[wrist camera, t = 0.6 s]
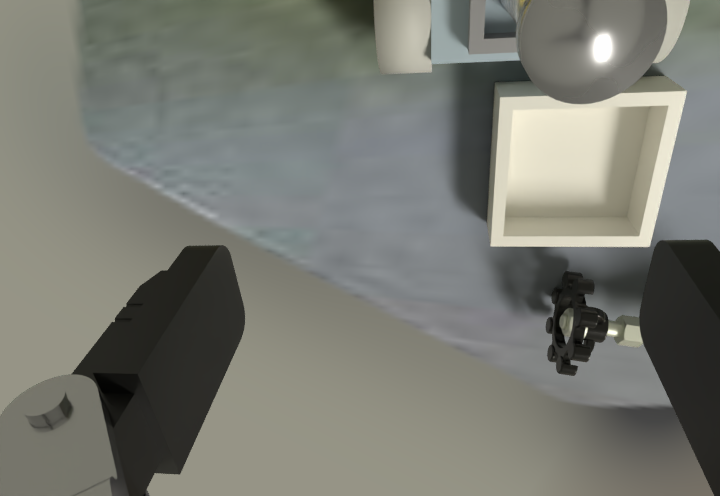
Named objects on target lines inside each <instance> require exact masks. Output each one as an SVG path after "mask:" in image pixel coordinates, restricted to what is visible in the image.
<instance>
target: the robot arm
mask: <svg viewBox="0 0 720 496" xmlns="http://www.w3.org/2000/svg"><path fill="white" fill-rule="evenodd" d="M639 324H640V333H641V338H642V341H643V344H644V346H645V348H646V350H647V352H648V355H649V357H650V359H651V361H652V363H653V365H654V367H655V370H656V372H657V374H658V376H659V378H660V380H661V382H662V385H663V387H664V389H665V391H666V393H667V395H668V397H669V400H670V402H671V404H672V406H673V408H674V410H675V412H676V415H677V417H678V419H679V421H680V423H681V425H682V428H683V429H684V431H685V434H686V436H687V438H688V440H689V443H690V444H691V447H692V449H693V451H694V453H695V455H696V457H697V460H698V462H699V464H700V466H701V468H702V470H703V472H704V475H705V477H706V479H707V481H708V483H709V485H710V488H711V490H712V492H713V494H714V496H720V251H719V250H718V249H717V248H716V247H715V245H714V244H713V243H712V242H711V241H709V240H662V241H659V242H658V243H657V245H656V246H655V249H654V252H653V255H652V260H651V264H650V269H649V273H648V277H647V282H646V286H645V290H644V295H643V299H642V304H641V308H640V316H639ZM244 325H245V311H244V306H243V301H242V297H241V294H240V290H239V286H238V282H237V278H236V274H235V270H234V266H233V262H232V259H231V255H230V252H229V250H228V249H227V248H226V247H225V246H223V245H221V246H220V245H216V246H187V247H185V248H184V249H183V250H182V252H181V253H180V254H179V256H178V257H177V258H176V260H175V261H174V262H173V264H172V265H171V267H170V268H169V269H168V271H160V272H159V273H158V274H156V275H155V276H153V277H152V278H151V279H149V280H148V281H146V282H145V283H144V284H142V285H141V286H140V287H139V288H138V289H137V291H136V292H135V293H134V295H133V296H132V297H131V298H130V300H129V301H128V302H127V306H126V307H123V309H122V310H121V311H120V312H119V314H118V315H117V316H116V318H115V322H112V323H111V324H110V326H109V327H108V328H107V329H106V331H105V332H104V333H103V334H102V336H101V337H100V338H99V339H98V341H97V342H96V344H95V345H94V346H93V347H92V348H91V350H90V351H89V353H88V354H87V355H86V356H85V358H84V359H83V360H82V361H81V363H80V364H79V365H78V367H77V368H76V369H75V370H74V372H73V373H72V374H71V375H62V376H58V377H54V378H51V379H48V380H45V381H43V382H41V383H38V384H36V385H35V386H33V387H31V388H29V389H27V390H26V391H25V392H23V393H22V394H20V395H19V396H18V397H16V398H15V399H14V400H13V401H12V402H11V403H10V404H9V405H8V406H7V407H6V408H5V410H4V411H3V413H2V414H1V416H0V496H150V495H149V493H148V491H147V487H148V485H149V483H150V481H151V479H152V477H153V475H154V473H163V474H164V473H165V474H180V473H181V471H182V469H183V466H184V464H185V462H186V460H187V458H188V455H189V453H190V451H191V449H192V447H193V444H194V442H195V440H196V438H197V435H198V433H199V431H200V429H201V427H202V424H203V422H204V420H205V418H206V415H207V413H208V411H209V409H210V407H211V404H212V402H213V400H214V398H215V396H216V393H217V391H218V389H219V387H220V384H221V382H222V380H223V378H224V376H225V373H226V371H227V369H228V367H229V365H230V362H231V360H232V358H233V356H234V353H235V351H236V349H237V347H238V344H239V342H240V340H241V337H242V335H243V331H244Z"/></svg>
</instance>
